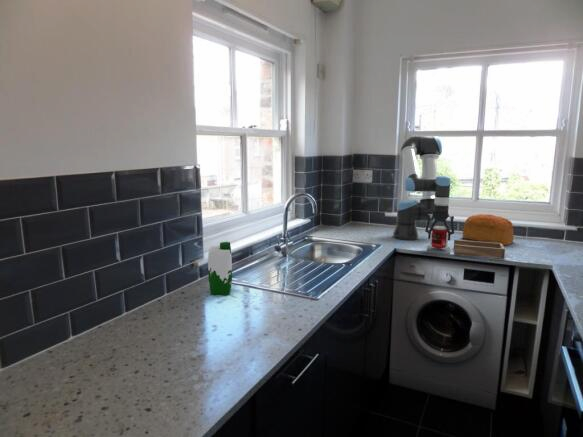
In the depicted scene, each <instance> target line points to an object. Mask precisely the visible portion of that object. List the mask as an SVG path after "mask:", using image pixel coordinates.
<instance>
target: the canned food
mask: <svg viewBox="0 0 583 437" xmlns="http://www.w3.org/2000/svg"><path fill="white" fill-rule="evenodd" d="M431 233H432V244H431V245H430V246H432V247H435V248H445V247H446V238H447V234H448V232H447V228H446V227H445V225H435V226H434V227H433V230H432V231H431Z"/></svg>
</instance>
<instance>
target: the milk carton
mask: <svg viewBox="0 0 583 437" xmlns="http://www.w3.org/2000/svg"><path fill="white" fill-rule="evenodd" d="M207 256H208V257H207V267H208V273H207V274H208V285H209V291H210V296H211V295H221V296H230V294H231V290H232V282H233V262H232V261H233V260H232V247H231V242H229V241H223V242H222V241H221V242H219V245H217V246H216V245H215V246H214V245H213V246H212V245H211V246H210V248H209V250H208V255H207Z"/></svg>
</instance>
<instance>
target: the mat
mask: <svg viewBox="0 0 583 437" xmlns="http://www.w3.org/2000/svg"><path fill="white" fill-rule="evenodd" d="M426 252H427V253H434V254H435V253H438V254H448V255H450V254H451V247H450V246H447V247H445V248H435V247H432V245H430V244H429V245H428V244H427V246H426Z"/></svg>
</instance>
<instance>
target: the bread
mask: <svg viewBox="0 0 583 437" xmlns="http://www.w3.org/2000/svg"><path fill="white" fill-rule="evenodd" d="M462 238H463V239H465V240H466V239H467V240H470V241H478V242H491V243H502V244H503V246H508V245H511V244H513V242H514V228H513V223H512V221H511V220H509V219H507V218H505V217H502V216H496V215H494V214H486V213H485V214H483V213H481V214H475V215H471V216H468V217H467V218H466V220H465V221H464V225H463V227H462Z"/></svg>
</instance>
